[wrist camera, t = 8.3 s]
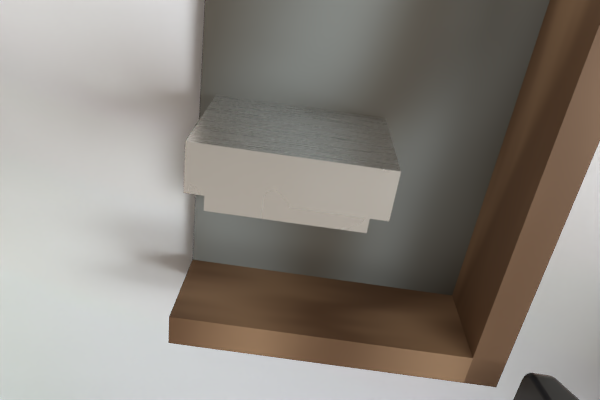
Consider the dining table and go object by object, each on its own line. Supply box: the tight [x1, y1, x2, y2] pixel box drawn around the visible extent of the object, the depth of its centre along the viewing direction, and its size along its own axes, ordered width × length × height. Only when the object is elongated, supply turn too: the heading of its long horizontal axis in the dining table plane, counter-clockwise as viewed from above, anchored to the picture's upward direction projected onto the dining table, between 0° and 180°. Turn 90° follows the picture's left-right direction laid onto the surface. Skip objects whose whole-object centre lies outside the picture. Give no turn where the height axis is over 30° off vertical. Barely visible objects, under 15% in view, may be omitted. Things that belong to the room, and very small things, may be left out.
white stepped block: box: [184, 95, 401, 233], centre depth 18 cm, size 6×4×4 cm, turn 83°
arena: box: [169, 0, 600, 387], centre depth 18 cm, size 12×14×4 cm
